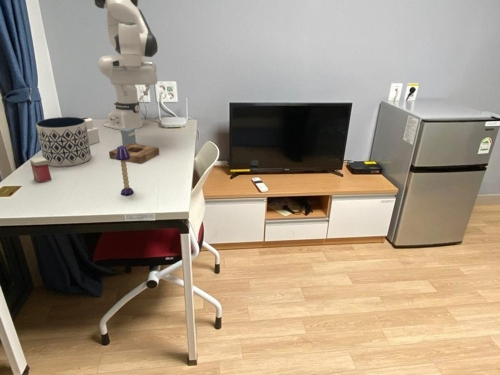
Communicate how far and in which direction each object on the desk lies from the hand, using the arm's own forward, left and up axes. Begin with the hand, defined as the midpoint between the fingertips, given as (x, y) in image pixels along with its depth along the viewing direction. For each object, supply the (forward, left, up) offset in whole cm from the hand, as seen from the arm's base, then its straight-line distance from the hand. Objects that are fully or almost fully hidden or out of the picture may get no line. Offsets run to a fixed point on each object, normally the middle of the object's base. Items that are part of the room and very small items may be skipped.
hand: (135, 95), depth 153 cm
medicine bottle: (-28, -2, -25) cm, 38 cm away
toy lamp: (+25, -42, -25) cm, 55 cm away
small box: (-10, -45, -25) cm, 53 cm away
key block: (-8, +3, -25) cm, 27 cm away
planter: (-18, -25, -25) cm, 40 cm away
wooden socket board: (+4, -9, -25) cm, 27 cm away
